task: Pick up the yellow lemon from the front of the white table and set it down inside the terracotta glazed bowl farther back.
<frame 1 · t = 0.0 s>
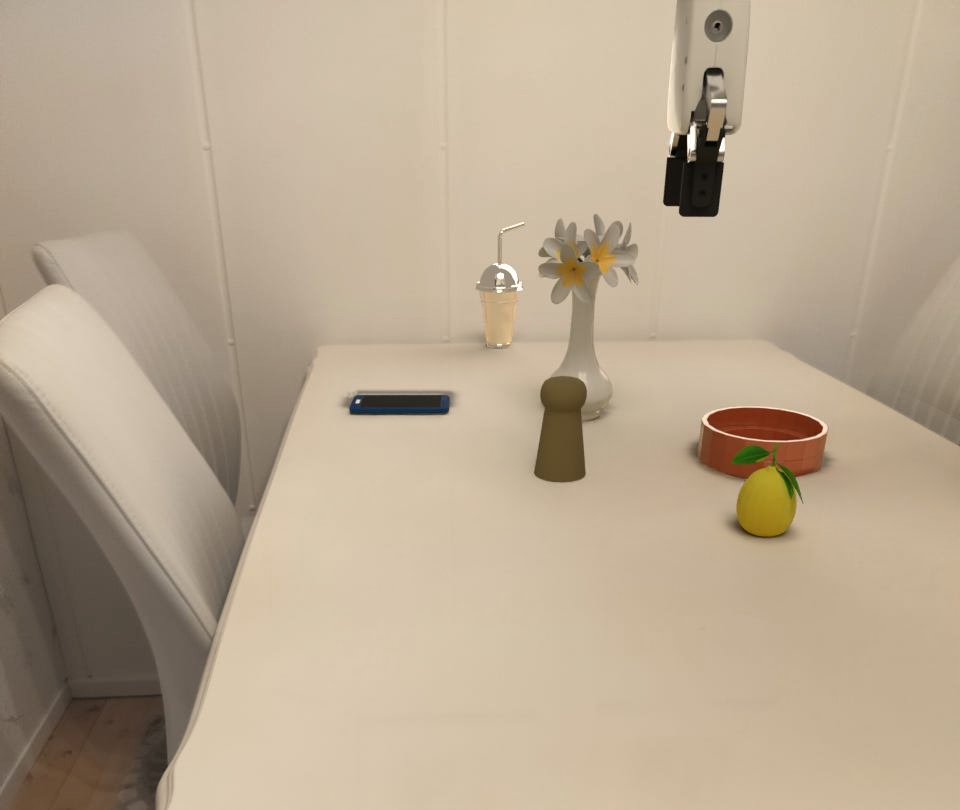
hand: (688, 210, 81), 29 cm above the table, tool pointing down, fingers open, 9 cm apart
cell phone: (400, 408, 130), on the table
lemon: (757, 542, 90), on the table
bowl: (757, 464, 110), on the table
flower vase: (579, 418, 127), on the table
cup with straw: (500, 346, 165), on the table
olive game pawn: (559, 474, 107), on the table
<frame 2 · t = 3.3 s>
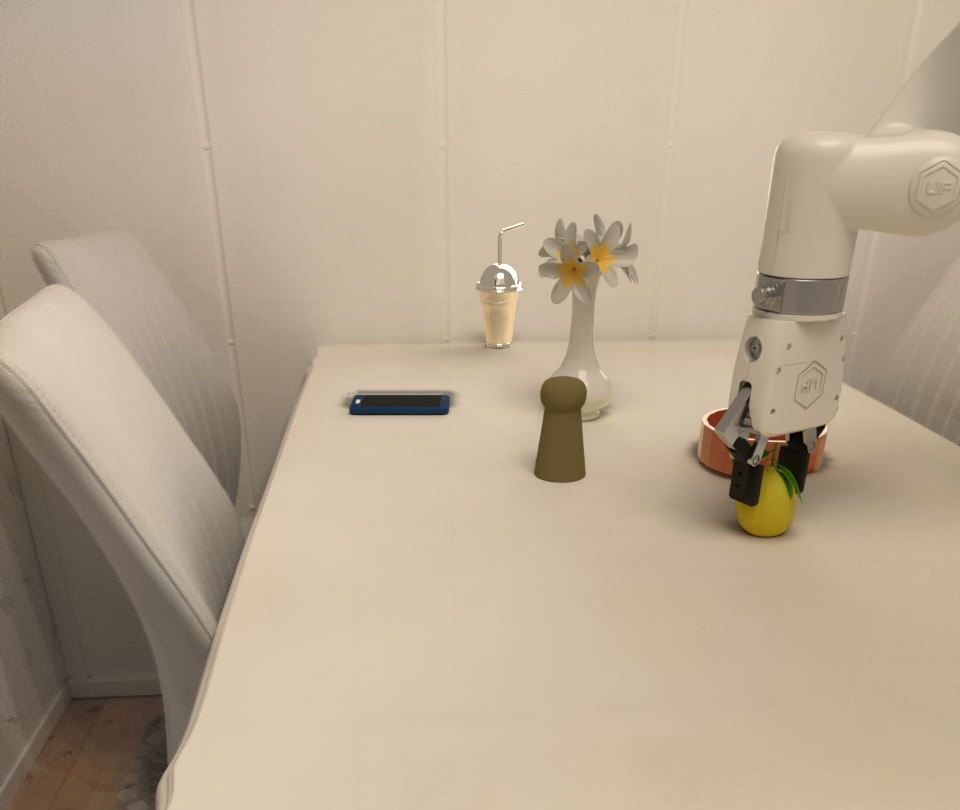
hand: (766, 493, 88), 5 cm above the table, tool pointing down, fingers closed on lemon, 5 cm apart
lemon: (757, 542, 90), on the table, touching gripper
everything else where it was.
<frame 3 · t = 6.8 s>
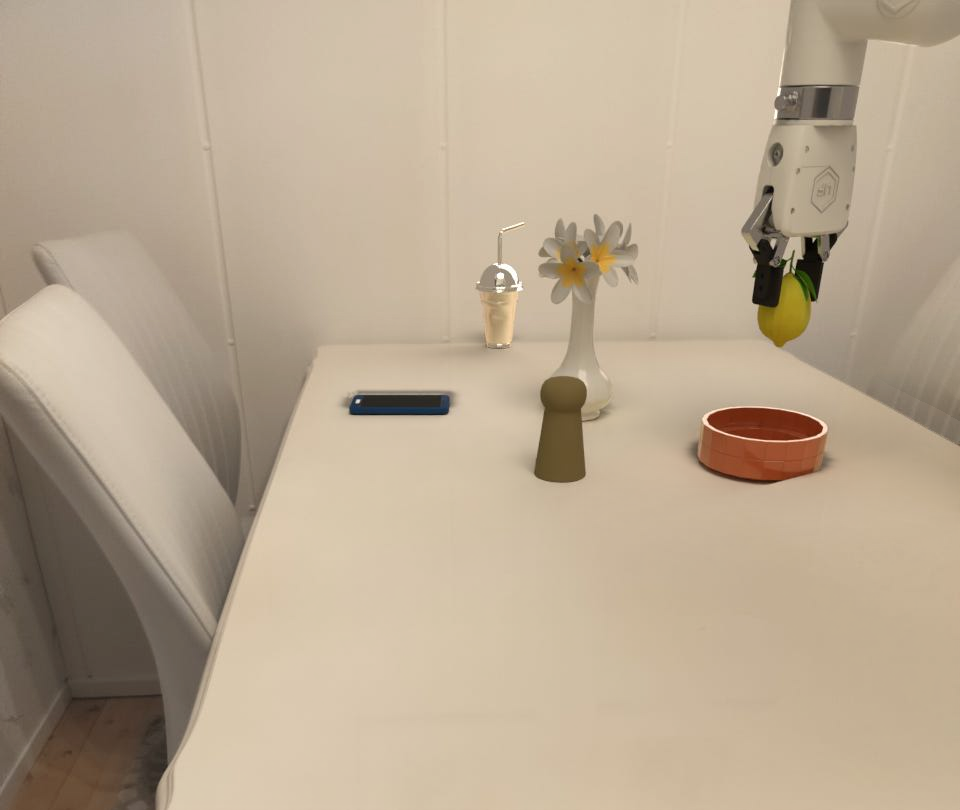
hand: (784, 300, 99), 19 cm above the table, tool pointing down, fingers closed on lemon, 5 cm apart
lemon: (776, 348, 102), point 14 cm above the table, touching gripper
everything else where it was.
when the fingers open (6 cm above the table, at t = 10.2 s): lemon stays where it is, resting on bowl.
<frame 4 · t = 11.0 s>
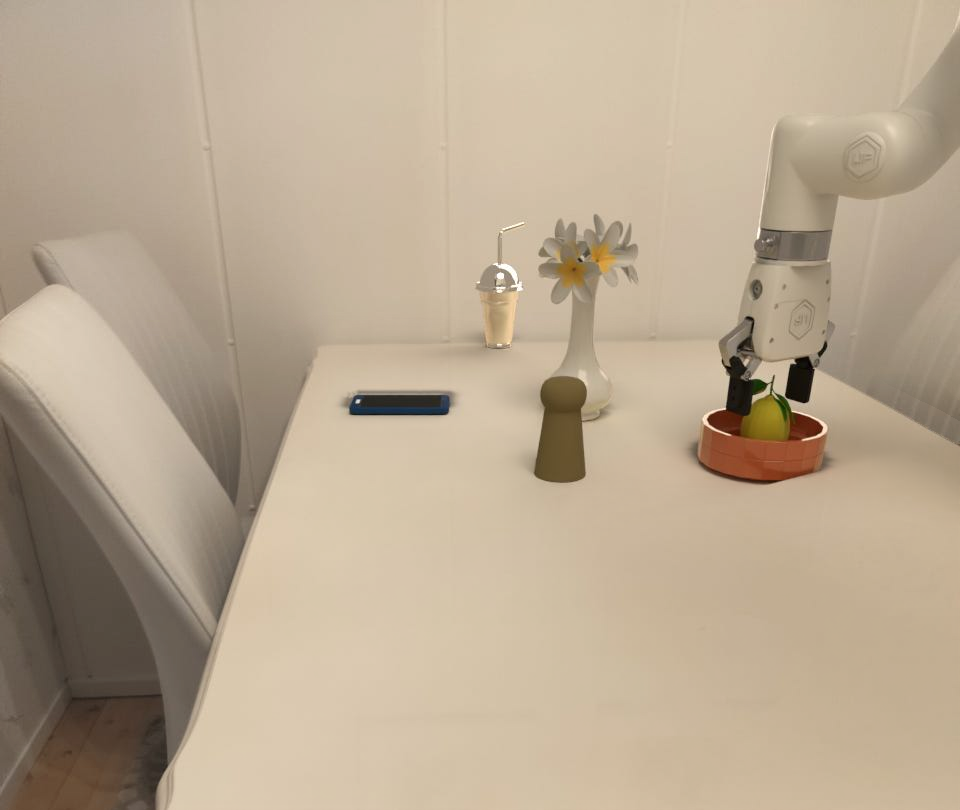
hand: (767, 406, 106), 7 cm above the table, tool pointing down, fingers open, 9 cm apart
lemon: (758, 461, 109), resting on bowl
everything else where it was.
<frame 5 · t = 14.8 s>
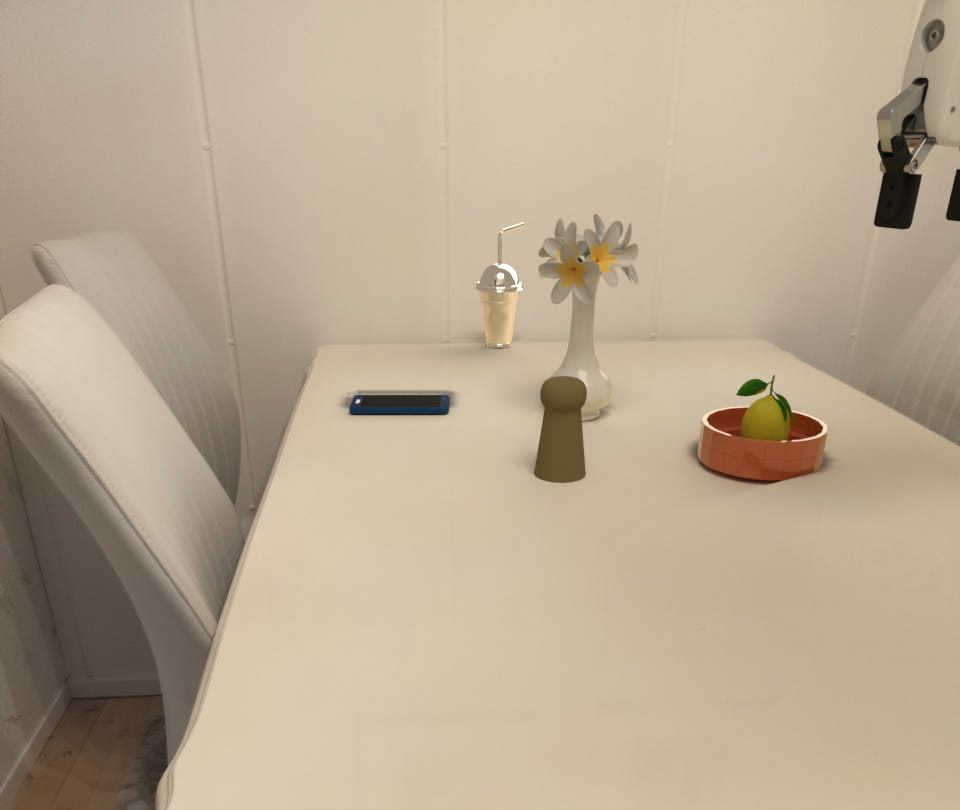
hand: (928, 224, 78), 28 cm above the table, tool pointing down, fingers open, 9 cm apart
nothing on the table moved.
at the end: lemon inside the target area in the bowl (0.0 cm from its centre), point 0.4 cm above the bowl's base; the gripper is holding nothing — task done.
